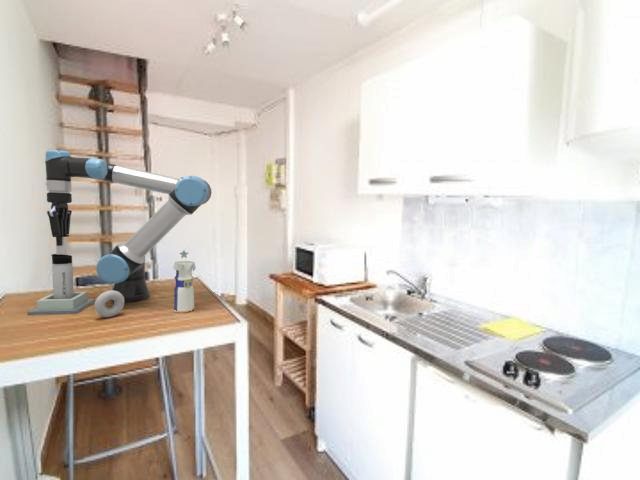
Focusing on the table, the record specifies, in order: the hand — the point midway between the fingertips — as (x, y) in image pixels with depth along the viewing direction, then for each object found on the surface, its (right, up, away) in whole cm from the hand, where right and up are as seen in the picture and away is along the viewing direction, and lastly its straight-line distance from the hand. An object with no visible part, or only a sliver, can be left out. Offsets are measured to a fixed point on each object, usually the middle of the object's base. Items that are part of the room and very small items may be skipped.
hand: (61, 253), depth 132 cm
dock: (-1, -21, +2) cm, 22 cm away
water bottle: (+46, -23, +5) cm, 51 cm away
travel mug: (-1, -20, +2) cm, 21 cm away
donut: (+22, -23, -6) cm, 33 cm away
